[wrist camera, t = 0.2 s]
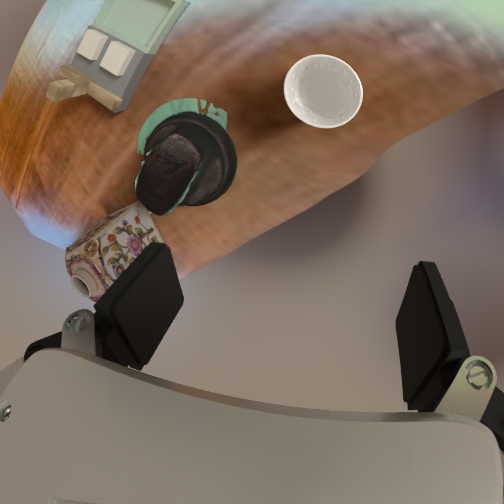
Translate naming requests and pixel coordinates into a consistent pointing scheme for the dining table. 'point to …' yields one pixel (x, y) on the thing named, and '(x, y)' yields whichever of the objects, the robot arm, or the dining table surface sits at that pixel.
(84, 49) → the tile
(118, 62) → the tile
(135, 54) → the board
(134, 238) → the decorative jar
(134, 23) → the tray
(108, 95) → the tan bar
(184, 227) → the dining table surface
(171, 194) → the dark round cap
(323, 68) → the white cup
